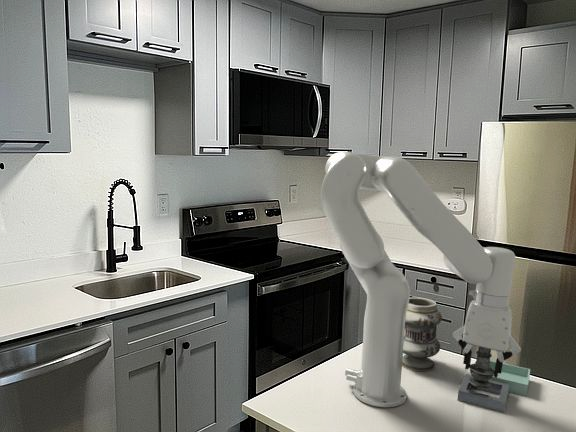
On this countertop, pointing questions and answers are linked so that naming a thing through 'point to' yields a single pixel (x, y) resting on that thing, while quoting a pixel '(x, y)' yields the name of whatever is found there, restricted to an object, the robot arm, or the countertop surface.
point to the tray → (513, 377)
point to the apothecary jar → (420, 334)
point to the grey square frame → (483, 399)
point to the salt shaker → (481, 369)
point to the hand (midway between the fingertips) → (481, 370)
